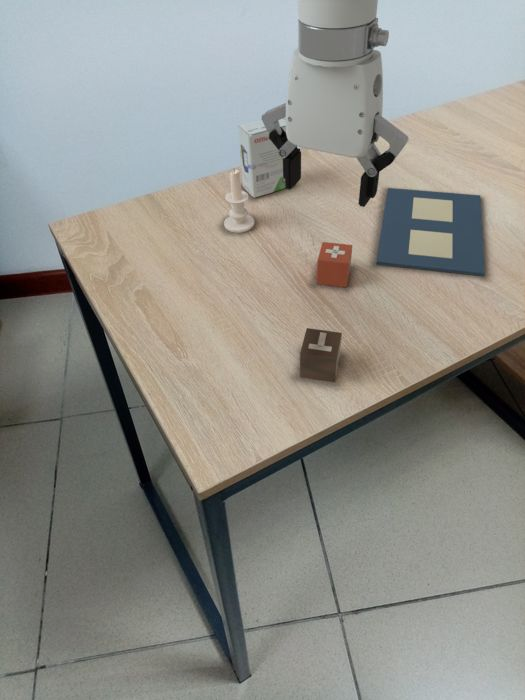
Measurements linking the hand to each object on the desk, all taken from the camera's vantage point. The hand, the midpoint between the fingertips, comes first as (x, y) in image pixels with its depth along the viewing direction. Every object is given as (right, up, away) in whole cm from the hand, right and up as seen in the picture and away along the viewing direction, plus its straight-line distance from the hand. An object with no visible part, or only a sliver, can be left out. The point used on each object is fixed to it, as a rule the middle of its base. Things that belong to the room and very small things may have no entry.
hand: (328, 192), depth 65 cm
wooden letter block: (-1, -22, +3) cm, 22 cm away
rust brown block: (+3, -8, +16) cm, 18 cm away
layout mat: (+20, +1, +23) cm, 30 cm away
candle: (-12, +2, +26) cm, 29 cm away
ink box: (-7, +11, +35) cm, 37 cm away
